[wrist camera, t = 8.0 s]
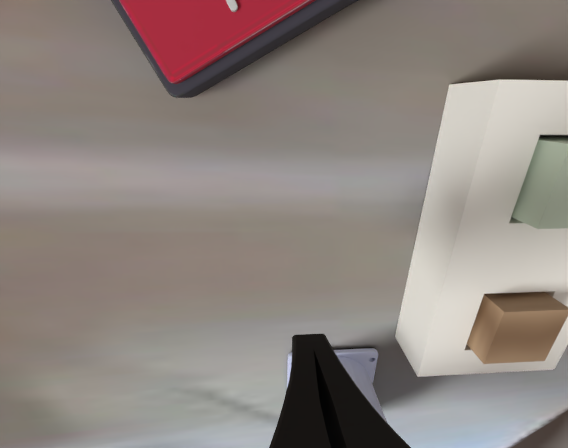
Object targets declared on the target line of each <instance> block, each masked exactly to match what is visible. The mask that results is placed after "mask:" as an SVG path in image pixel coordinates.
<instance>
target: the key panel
mask: <svg viewBox="0 0 568 448" xmlns="http://www.w3.org/2000/svg"><path fill="white" fill-rule="evenodd" d="M539 136H541V137H568V81H558V80H501V79H500V80H490V81H480V82H470V83H460V84H450V85H449V88H448V93H447V98H446V102H445V107H444V112H443V116H442V121H441V126H440V130H439V135H438V139H437V144H436V149H435V153H434V158H433V163H432V167H431V172H430V177H429V181H428V186H427V190H426V195H425V200H424V204H423V209H422V214H421V218H420V223H419V227H418V232H417V237H416V241H415V246H414V251H413V255H412V260H411V265H410V269H409V274H408V278H407V283H406V288H405V292H404V297H403V302H402V306H401V311H400V316H399V320H398V325H397V329H396V334H395V338H396V339H397V341H398V343H399V345H400V346H401V348H402V350H403V352H404V354H405V355H406V357H407V359H408V361H409V362H410V364H411V366H412V368H413V370H414V371H415V373H416V375H417V377H423V376H442V375H461V374H480V373H499V372H518V371H537V370H554V369H555V367H556V365H557V364H558V362H559V360H560V358H561V356H562V354H563V352H564V351H565V349H566V347H567V345H568V317H567V319H566V321H565V323H564V324H563V326H562V328H561V330H560V332H559V334H558V336H557V338H556V340H555V342H554V344H553V346H552V348H551V350H550V352H549V354H548V356H547V358H546V360H545V361H535V362H515V363H495V364H483V363H482V361H481V360H480V359H479V358H478V357H477V356H476V354H475V353H474V352H473V351H472V350H471V348H470V347H469V346H468V345H467V341H468V338H469V336H470V333H471V330H472V327H473V324H474V321H475V318H476V316H477V313H478V310H479V307H480V304H481V301H482V299H483V296H484V294H490V293H519V292H546V293H547V294H549V295H550V296H552V297H553V298H555V299H556V300H558V301H559V302H561V303H562V304H564V305H565V306H567V307H568V228H560V229H537V228H534V227H532V226H530V225H528V224H526V223H523V222H521V221H519V220H517V219H515V218H513V217H511V216H512V213H513V210H514V207H515V204H516V202H517V199H518V196H519V193H520V190H521V187H522V185H523V182H524V179H525V176H526V173H527V170H528V167H529V165H530V162H531V159H532V156H533V153H534V150H535V147H536V145H537V142H538V139H539Z"/></svg>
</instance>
